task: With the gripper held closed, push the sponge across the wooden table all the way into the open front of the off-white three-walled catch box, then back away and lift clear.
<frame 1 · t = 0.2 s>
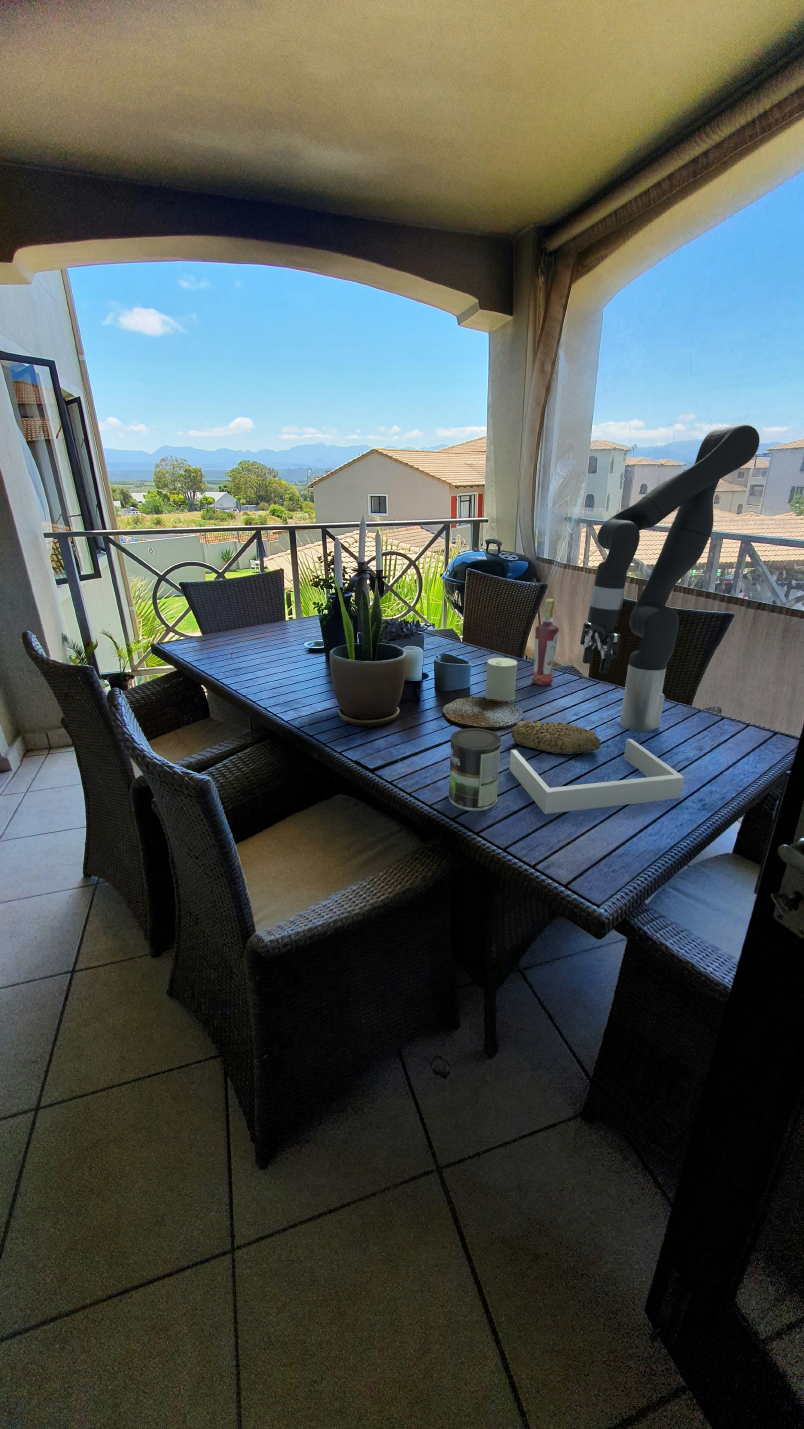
hand: (594, 667, 144), 17 cm above the table, tool pointing down, fingers open, 8 cm apart
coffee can: (472, 799, 118), on the table
potted plant: (370, 716, 161), on the table
liquor: (541, 684, 186), on the table
pillar candle: (500, 697, 175), on the table
catch box: (590, 783, 124), on the table
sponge: (554, 749, 141), on the table
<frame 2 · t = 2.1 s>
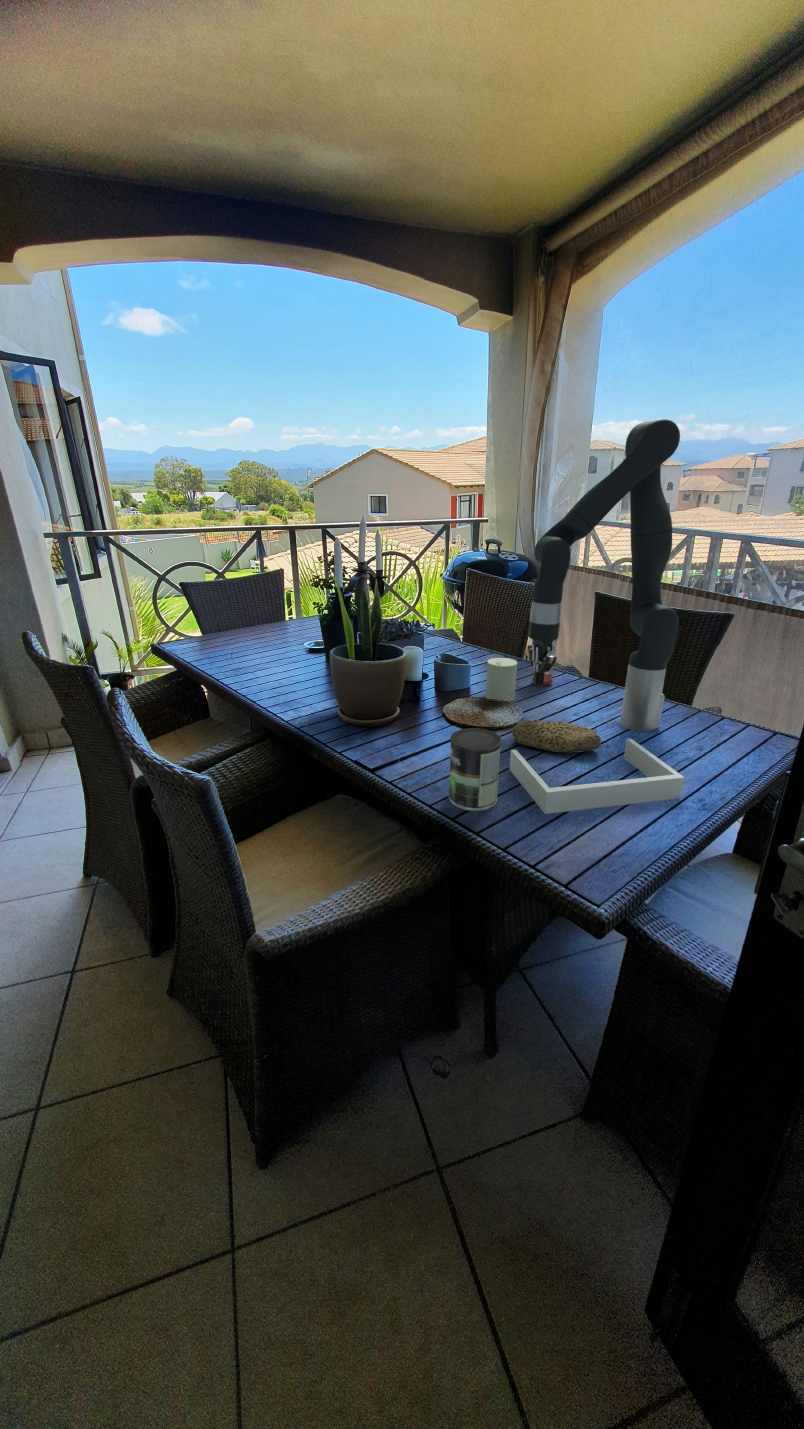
hand: (538, 684, 147), 13 cm above the table, tool pointing down, fingers closed
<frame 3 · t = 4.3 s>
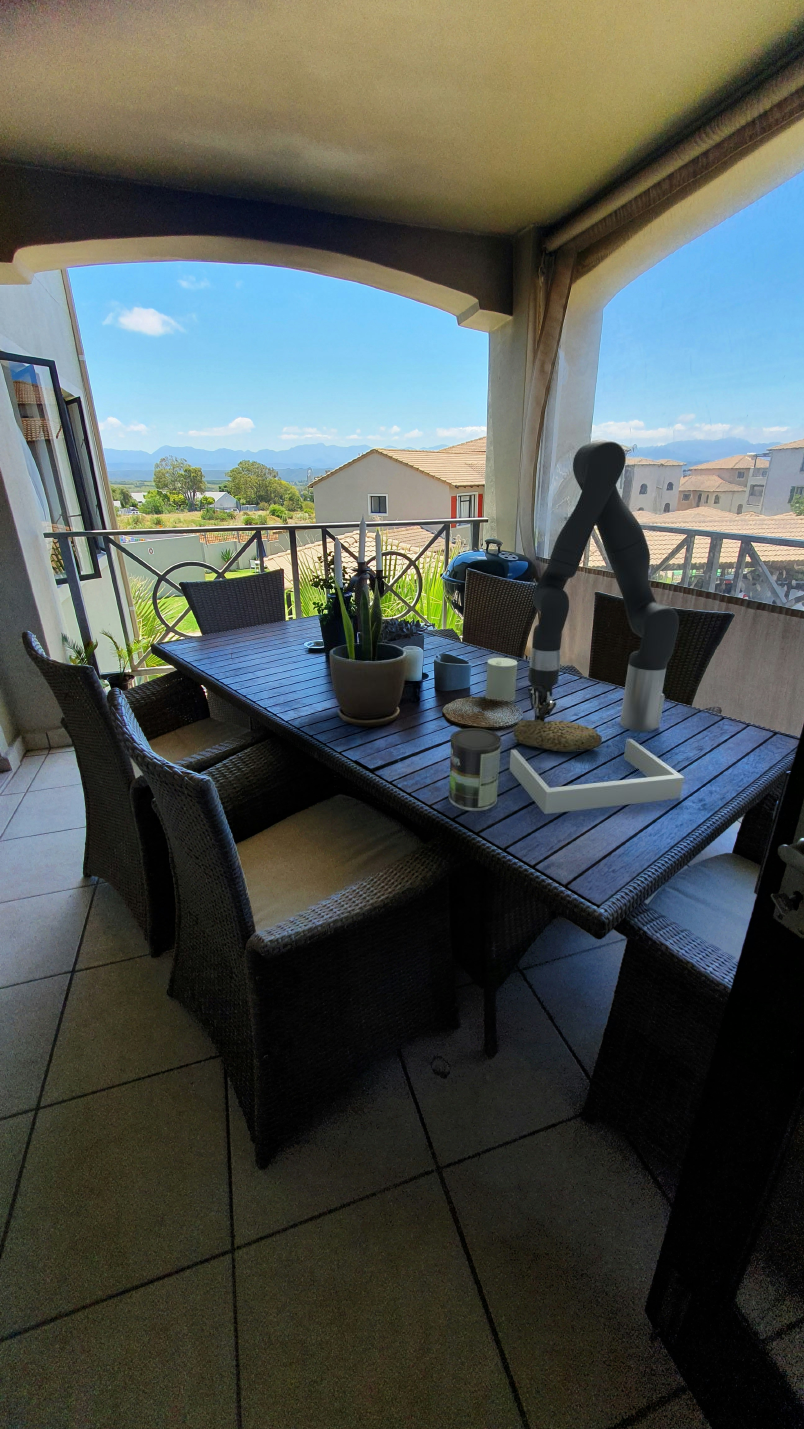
hand: (538, 727, 149), 2 cm above the table, tool pointing down, fingers closed
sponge: (556, 747, 142), on the table, touching gripper
everything else where it was.
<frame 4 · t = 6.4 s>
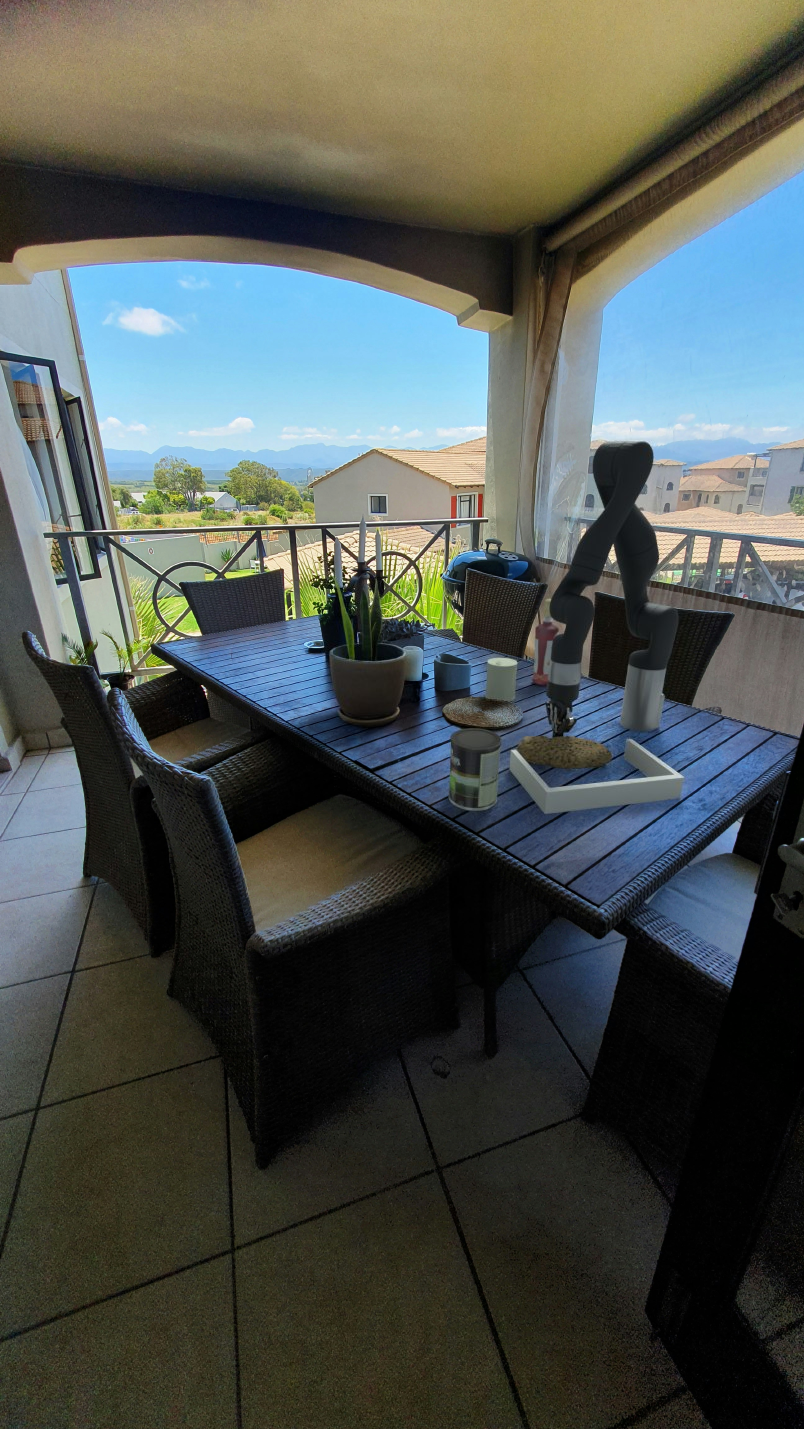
hand: (556, 744, 139), 2 cm above the table, tool pointing down, fingers closed
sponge: (563, 765, 133), on the table
everything else where it was.
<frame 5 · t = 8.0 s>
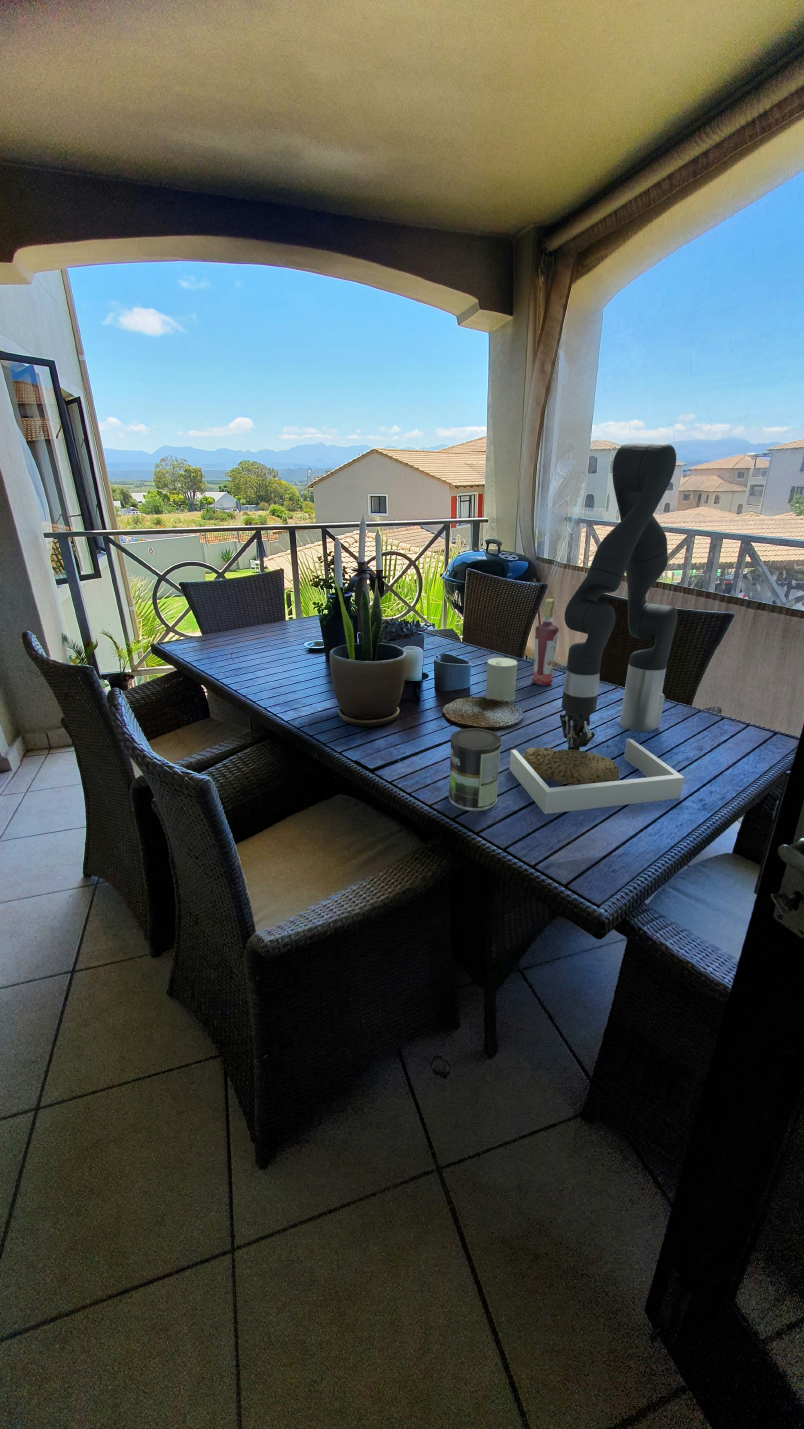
hand: (572, 759, 132), 2 cm above the table, tool pointing down, fingers closed
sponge: (568, 779, 126), on the table, touching gripper
everything else where it was.
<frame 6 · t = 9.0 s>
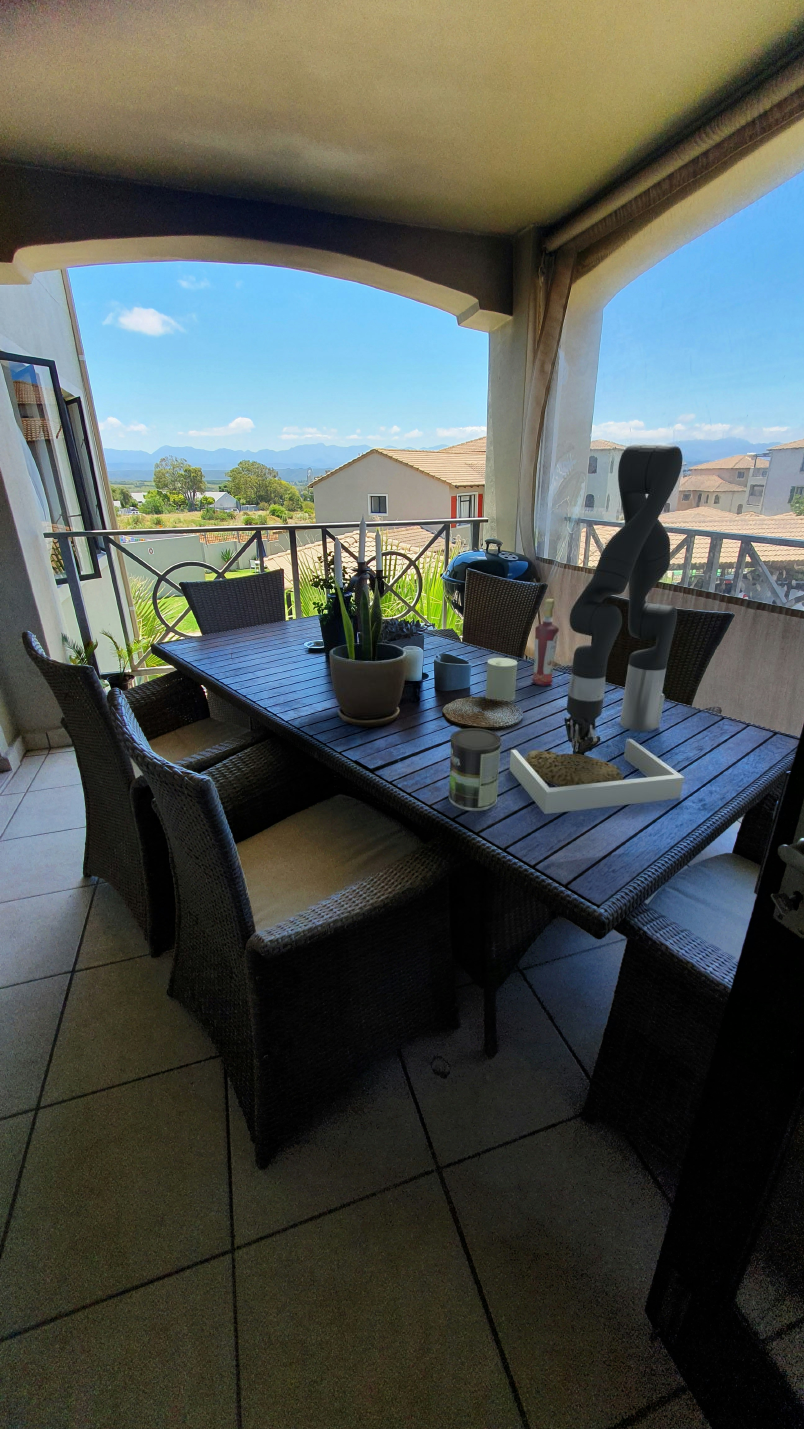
hand: (577, 763, 129), 2 cm above the table, tool pointing down, fingers closed
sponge: (571, 784, 124), on the table, touching gripper
everything else where it was.
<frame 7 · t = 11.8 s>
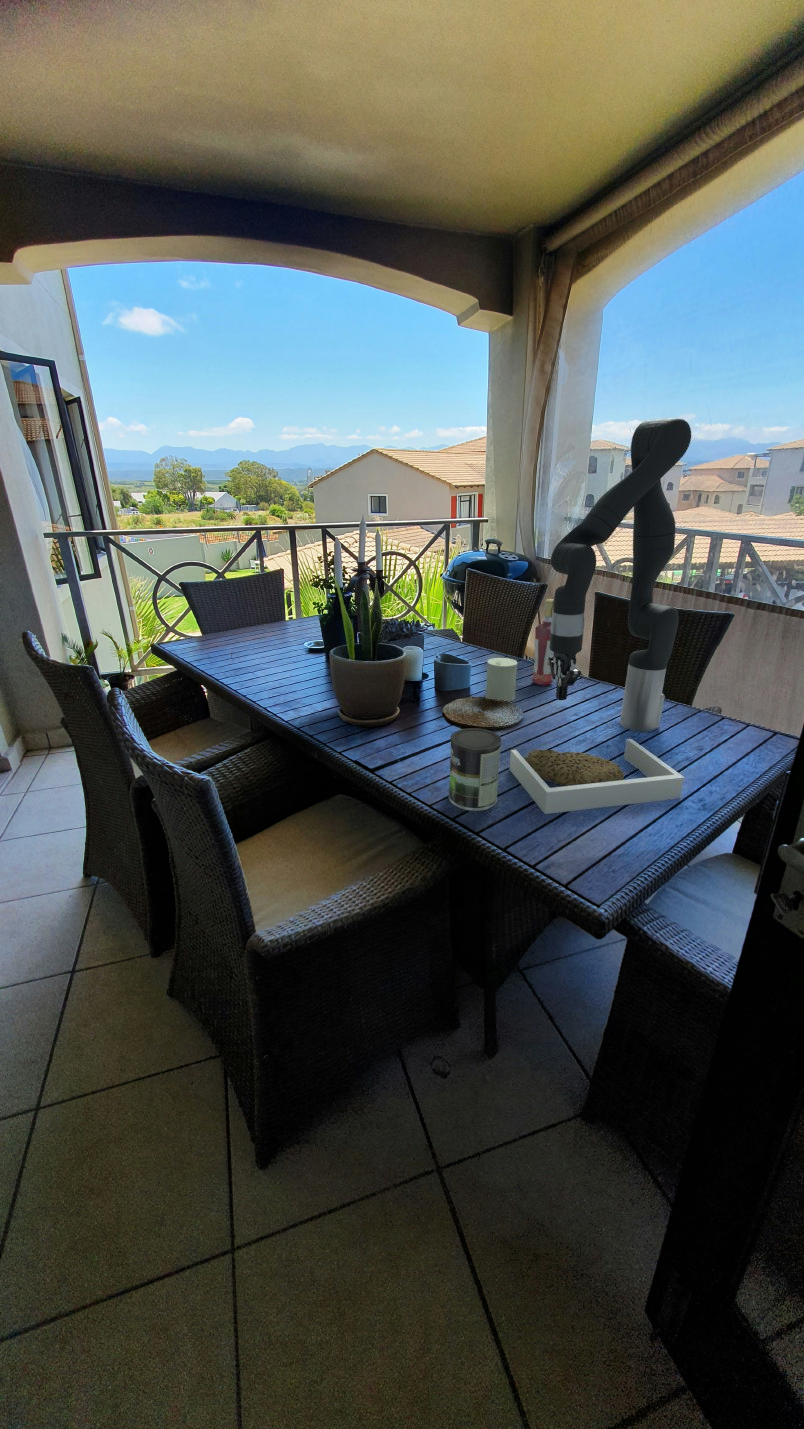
hand: (561, 699, 139), 12 cm above the table, tool pointing down, fingers closed
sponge: (572, 782, 125), on the table
everything else where it was.
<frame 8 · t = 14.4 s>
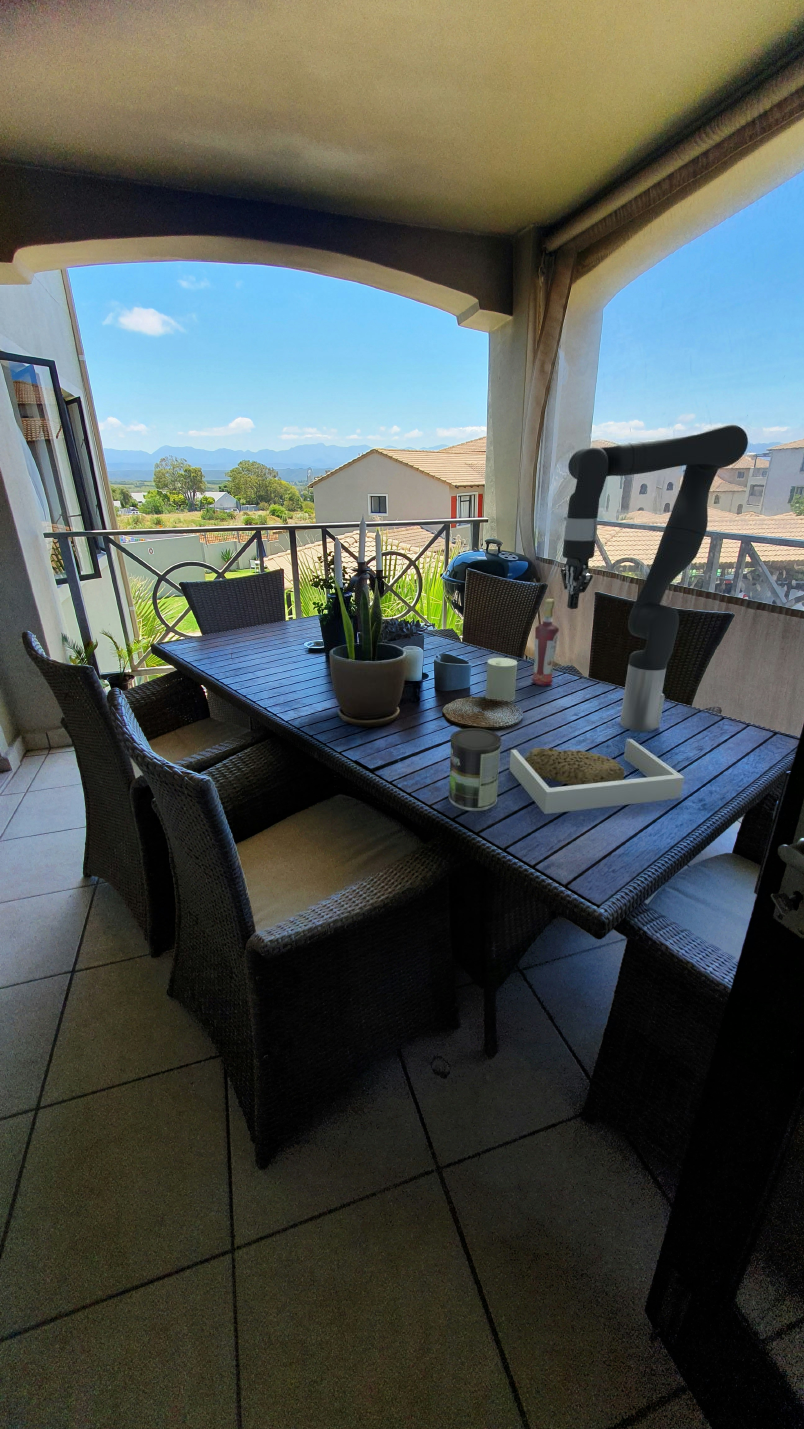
hand: (572, 608, 143), 32 cm above the table, tool pointing down, fingers closed
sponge: (573, 780, 126), on the table
everything else where it was.
at the end: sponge inside the target area on the catch box (3.5 cm from its centre), point 0.0 cm above the catch box's base; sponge tilted 1° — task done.
